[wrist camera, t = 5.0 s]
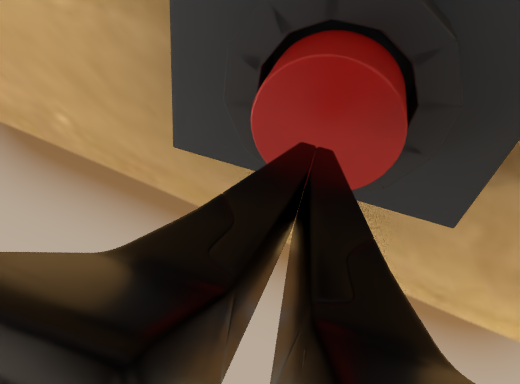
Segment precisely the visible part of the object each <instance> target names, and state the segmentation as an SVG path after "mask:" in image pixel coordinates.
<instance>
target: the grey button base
mask: <svg viewBox="0 0 520 384" xmlns="http://www.w3.org/2000/svg"><path fill="white" fill-rule="evenodd" d="M170 29H171V69H172V110H173V146H174V147H175V148H178V149H182V150H185V151H189V152H192V153H196V154H199V155H203V156H206V157H209V158H213V159H216V160H220V161H223V162H227V163H230V164H233V165H237V166H240V167H244V168H247V169H251V170H254V171H257V170H258V169H260V168H261V167H263V166H264V165H266V164H267V163H266V162H265V160H264V159H263V157H262V156H261V155H260V153H259V151H258V149H257V147H256V145H255V142H254V139H253V135H252V130H251V110H252V105H253V101H254V99H255V96H256V94H257V92H258V90H259V88H260V86H261V85H262V83H263V82H264V80H265V79H266V77H267V76H268V74H269V73H270V71H271V70H272V69H273V67H274V66H275V64H276V63H277V61H278V60H279V58H280V57H281V56H282V54H283V53H284V52H285V51H286V50H287V49H288V48H289V47H290V46H292V45H293V44H294V43H296V42H297V41H299V40H301V39H302V38H304V37H306V36H309V35H311V34H314V33H317V32H321V31H327V30H347V31H353V32H357V33H360V34H363V35H365V36H367V37H370V38H372V39H373V40H375V41H376V42H378V43H380V44H381V45H382V46H383V47H384V48H386V49H387V50H388V51H389V52H390V54H391V55H392V56H393V57H394V58H395V60H396V62H397V63H398V65H399V67H400V69H401V72H402V74H403V77H404V82H405V88H406V104H407V122H408V127H407V136H406V141H405V144H404V147H403V149H402V152H401V154H400V155H399V157H398V159H397V160H396V162H395V163H394V164H393V166H392V167H391V168H390V169H389V170H388V171H387V172H386V173H385V174H384V175H382V176H381V177H380V178H378V179H377V180H375V181H373V182H372V183H370V184H368V185H366V186H363V187H361V188H358V189H354V190H352V192H353V194H354V196H355V198H356V200H357V201H361V202H364V203H368V204H371V205H375V206H378V207H381V208H385V209H388V210H392V211H395V212H399V213H402V214H406V215H409V216H412V217H416V218H419V219H423V220H426V221H430V222H433V223H437V224H440V225H443V226H447V227H450V228H454V227H455V226H456V225H457V223H458V222H459V221H460V219H461V218H462V217H463V215H464V214H465V212H466V211H467V210H468V208H469V207H470V206H471V204H472V203H473V202H474V200H475V199H476V198H477V196H478V195H479V194H480V192H481V191H482V189H483V188H484V187H485V185H486V184H487V183H488V181H489V180H490V179H491V177H492V176H493V175H494V173H495V172H496V171H497V169H498V168H499V166H500V165H501V164H502V162H503V161H504V160H505V158H506V157H507V156H508V154H509V153H510V152H511V150H512V149H513V147H514V146H515V145H516V143H517V142H518V141H519V139H520V0H170Z"/></svg>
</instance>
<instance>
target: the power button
mask: <svg viewBox="0 0 520 384" xmlns="http://www.w3.org/2000/svg"><path fill="white" fill-rule="evenodd" d="M407 127H408V122H407V104H406V88H405V82H404V77H403V74H402V72H401V69H400V67H399V65H398V63H397V62H396V60H395V58H394V57H393V56H392V55H391V54H390V52H389V51H388V50H387V49H386V48H384V47H383V46H382V45H381V44H380V43H378V42H376V41H375V40H373V39H372V38H370V37H367V36H365V35H363V34H360V33H357V32H353V31H347V30H327V31H321V32H317V33H314V34H311V35H309V36H306V37H304V38H302V39H301V40H299V41H297V42H296V43H294V44H293V45H292V46H290V47H289V48H288V49H287V50H286V51H285V52H284V53H283V54H282V56H281V57H280V58H279V60H278V61H277V63H276V64H275V66H274V67H273V69H272V70H271V71H270V73H269V74H268V76H267V77H266V79H265V80H264V82H263V83H262V85H261V86H260V88H259V90H258V92H257V94H256V96H255V99H254V101H253V105H252V110H251V130H252V135H253V139H254V142H255V145H256V147H257V149H258V151H259V153H260V155H261V156H262V157H263V159H264V160H265V162H266V163H267V164H268V163H269V162H271V161H272V160H274V159H275V158H277V157H278V156H280V155H281V154H283V153H284V152H286V151H287V150H289V149H290V148H292V147H293V146H295V145H296V144H298V143H300V142H305V143H309V144H312V145H315V146H316V148H317V147H323V148H327V149H330V150H333V151H334V153H335V155H336V158H337V160H338V162H339V164H340V166H341V168H342V170H343V173H344V175H345V177H346V179H347V181H348V183H349V185H350V188H351V190H354V189H358V188H361V187H363V186H366V185H368V184H370V183H372V182H373V181H375V180H377V179H378V178H380V177H381V176H382V175H384V174H385V173H386V172H387V171H388V170H389V169H390V168H391V167H392V166H393V164H394V163H395V162H396V160H397V159H398V157H399V155H400V154H401V152H402V149H403V147H404V144H405V141H406V136H407ZM314 155H315V154H314ZM313 158H314V157H313ZM311 165H312V164H311ZM310 168H311V167H310ZM309 172H310V171H309ZM308 175H309V174H308ZM306 182H307V181H306ZM305 185H306V184H305Z"/></svg>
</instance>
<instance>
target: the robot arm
mask: <svg viewBox="0 0 520 384" xmlns="http://www.w3.org/2000/svg"><path fill="white" fill-rule="evenodd" d="M314 154H315V155H314ZM313 157H314V158H313ZM311 164H312V165H311ZM310 167H311V168H310ZM309 171H310V172H309ZM308 174H309V175H308ZM306 181H307V182H306ZM305 184H306V185H305ZM304 188H305V189H304ZM303 191H304V192H303ZM301 198H302V199H301ZM300 201H301V202H300ZM298 208H299V209H298ZM297 211H298V212H297ZM296 215H297V216H296ZM295 218H296V219H295ZM294 221H295V223H294ZM293 224H294V227H293ZM292 227H293V232H292V239H291V246H290V252H289V259H288V266H287V273H286V279H285V286H284V293H283V300H282V307H281V314H280V321H279V327H278V334H277V341H276V347H275V354H274V361H273V368H272V375H271V382H270V384H475V383H473V382H472V381H470V380H469V379H467V378H466V377H465V376H464V375H462V374H461V373H460V372H459V371H458V370H456V369H455V368H454V367H453V366H452V365H451V363H450V362H449V361H448V360H447V359H446V358H445V356H444V355H443V354H442V353H441V351H440V350H439V348H438V347H437V346H436V344H435V343H434V341H433V339H432V338H431V336H430V335H429V333H428V331H427V330H426V328H425V327H424V325H423V323H422V322H421V320H420V319H419V317H418V316H417V314H416V312H415V311H414V309H413V308H412V306H411V304H410V303H409V301H408V299H407V298H406V296H405V295H404V293H403V291H402V290H401V288H400V286H399V285H398V283H397V281H396V279H395V278H394V276H393V274H392V273H391V271H390V269H389V267H388V265H387V263H386V261H385V259H384V257H383V255H382V254H381V252H380V249H379V247H378V245H377V243H376V241H375V240H374V237H373V235H372V233H371V230H370V228H369V226H368V224H367V222H366V220H365V218H364V215H363V213H362V211H361V209H360V207H359V205H358V203H357V200H356V198H355V196H354V194H353V192H352V190H351V188H350V185H349V183H348V181H347V179H346V177H345V175H344V173H343V170H342V168H341V166H340V164H339V162H338V160H337V158H336V155H335V153H334V151H333V150H330V149H327V148H323V147H317V148H316V146H315V145H312V144H309V143H305V142H300V143H298V144H296V145H295V146H293V147H292V148H290V149H289V150H287V151H286V152H284V153H283V154H281V155H280V156H278V157H277V158H275V159H274V160H272V161H271V162H269V163H268V164H266V165H264V166H263V167H261V168H260V169H258V170H257V171H255V172H254V173H252V174H251V175H249V176H248V177H246V178H245V179H243V180H242V181H240V182H239V183H237V184H236V185H234V186H232V187H231V188H229V189H228V190H226V191H225V192H223V194H220V195H219V196H217V197H215V198H214V199H212V200H211V201H209V202H208V203H206V204H204V205H203V206H201V207H199V208H198V209H196V210H194V211H192V212H190V213H189V214H187V215H185V216H183V217H181V218H179V219H177V220H175V221H173V222H171V223H169V224H167V225H165V226H163V227H161V228H159V229H157V230H155V231H153V232H151V233H149V234H147V235H145V236H143V237H140V238H138V239H137V240H134V241H132V242H130V243H128V244H126V245H124V246H121V247H119V248H116V249H113V250H109V251H105V252H98V253H47V252H44V253H43V252H40V253H39V252H37V253H36V252H0V384H221V383H222V381H223V379H224V376H225V374H226V372H227V370H228V368H229V366H230V363H231V361H232V359H233V357H234V355H235V352H236V350H237V348H238V346H239V344H240V341H241V339H242V337H243V335H244V333H245V331H246V328H247V326H248V324H249V322H250V320H251V317H252V315H253V313H254V311H255V309H256V306H257V304H258V302H259V300H260V298H261V296H262V293H263V291H264V289H265V287H266V285H267V282H268V280H269V278H270V276H271V274H272V271H273V269H274V267H275V265H276V263H277V260H278V258H279V256H280V254H281V252H282V250H283V247H284V245H285V243H286V241H287V239H288V236H289V234H290V232H291V229H292Z"/></svg>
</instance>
